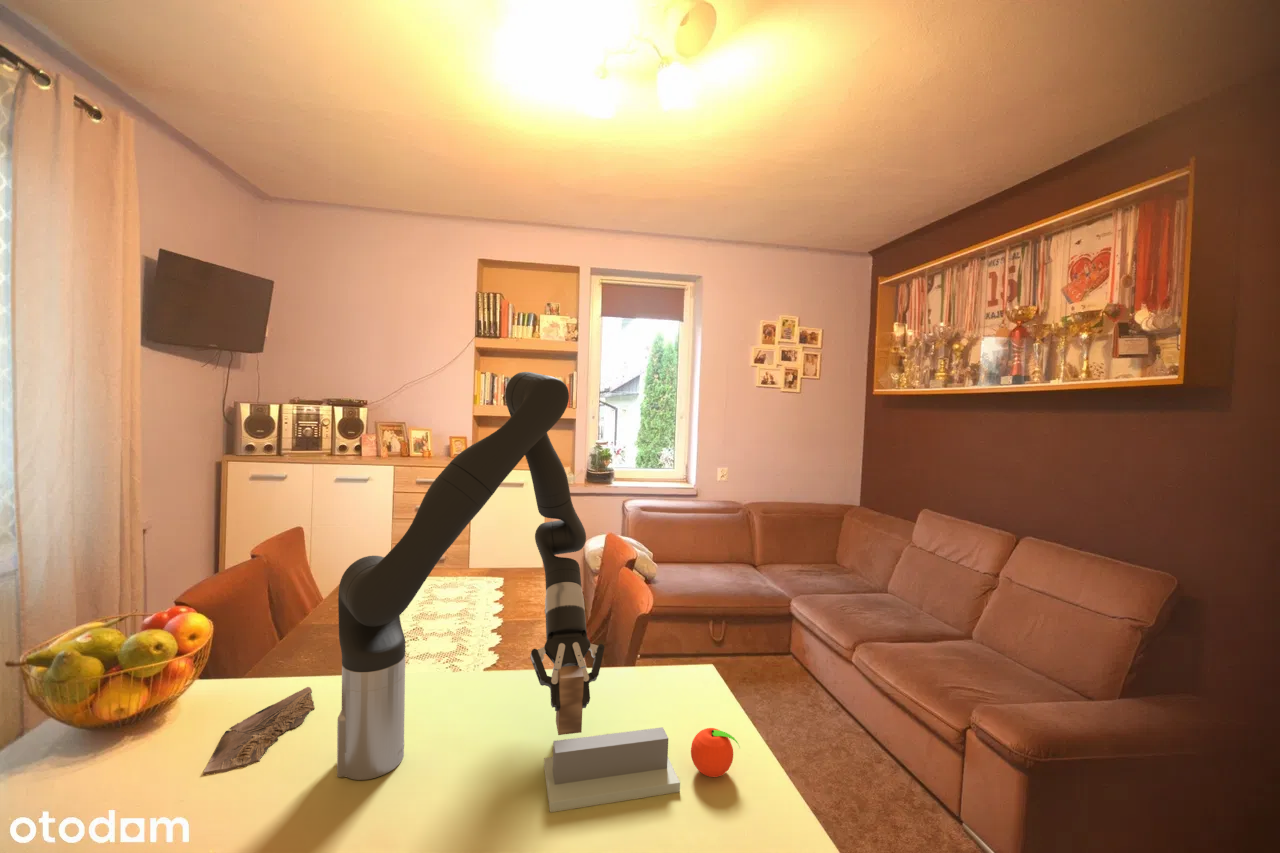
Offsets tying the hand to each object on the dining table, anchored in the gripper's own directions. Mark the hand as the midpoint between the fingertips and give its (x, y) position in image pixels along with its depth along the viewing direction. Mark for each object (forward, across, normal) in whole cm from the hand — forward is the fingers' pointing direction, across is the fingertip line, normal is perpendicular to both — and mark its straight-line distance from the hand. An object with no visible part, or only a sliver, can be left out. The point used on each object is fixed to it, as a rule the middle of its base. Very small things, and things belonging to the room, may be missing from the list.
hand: (571, 707), depth 94 cm
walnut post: (+2, 0, +5) cm, 5 cm away
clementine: (+13, +22, -3) cm, 26 cm away
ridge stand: (+11, +5, -2) cm, 13 cm away
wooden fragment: (-6, -52, +18) cm, 55 cm away
